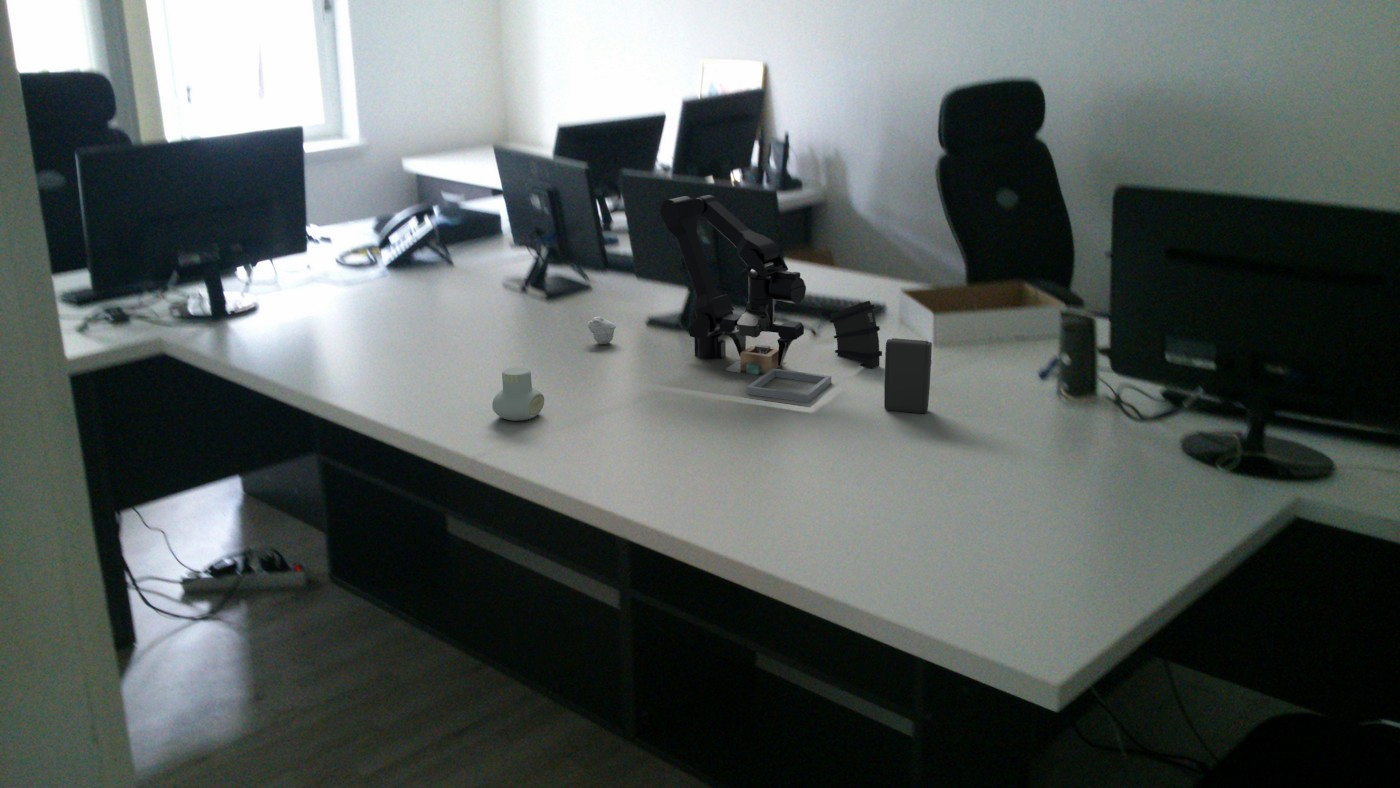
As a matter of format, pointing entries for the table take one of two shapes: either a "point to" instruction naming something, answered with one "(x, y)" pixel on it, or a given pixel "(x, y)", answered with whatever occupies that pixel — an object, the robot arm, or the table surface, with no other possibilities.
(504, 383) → the air freshener
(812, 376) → the tray
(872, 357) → the magazine
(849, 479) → the table surface
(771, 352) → the light brown open box
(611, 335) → the grey lumpy chunk
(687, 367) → the table surface
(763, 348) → the stake stand
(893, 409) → the card reader
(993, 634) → the table surface
